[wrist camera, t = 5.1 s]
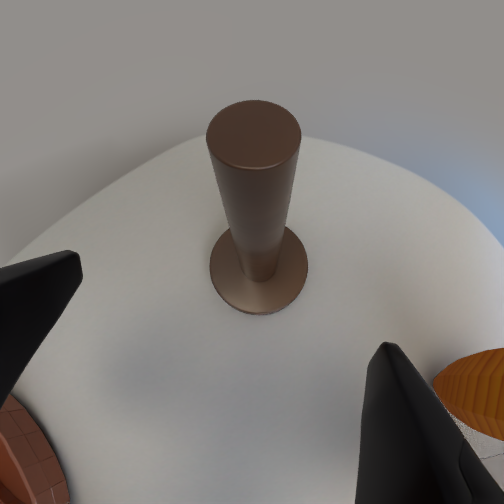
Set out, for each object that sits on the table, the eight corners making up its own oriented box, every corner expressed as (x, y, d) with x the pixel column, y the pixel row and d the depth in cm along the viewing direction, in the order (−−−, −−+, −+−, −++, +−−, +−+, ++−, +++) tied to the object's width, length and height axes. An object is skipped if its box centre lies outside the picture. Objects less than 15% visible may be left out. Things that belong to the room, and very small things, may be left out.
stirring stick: (323, 259, 19) (413, 126, 6) (267, 334, 18) (282, 323, 5) (250, 207, 20) (237, 39, 8) (193, 275, 19) (86, 163, 6)
